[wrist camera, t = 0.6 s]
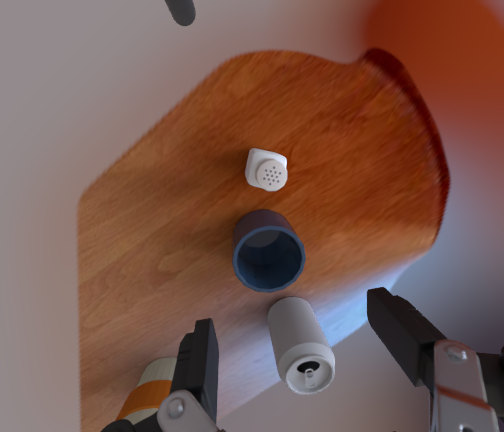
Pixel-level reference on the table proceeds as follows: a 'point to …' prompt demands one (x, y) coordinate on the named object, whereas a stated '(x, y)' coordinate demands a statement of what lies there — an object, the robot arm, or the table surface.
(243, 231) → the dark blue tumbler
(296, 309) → the can
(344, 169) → the table surface
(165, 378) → the reusable coffee cup
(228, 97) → the table surface
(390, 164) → the table surface
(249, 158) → the salt shaker
